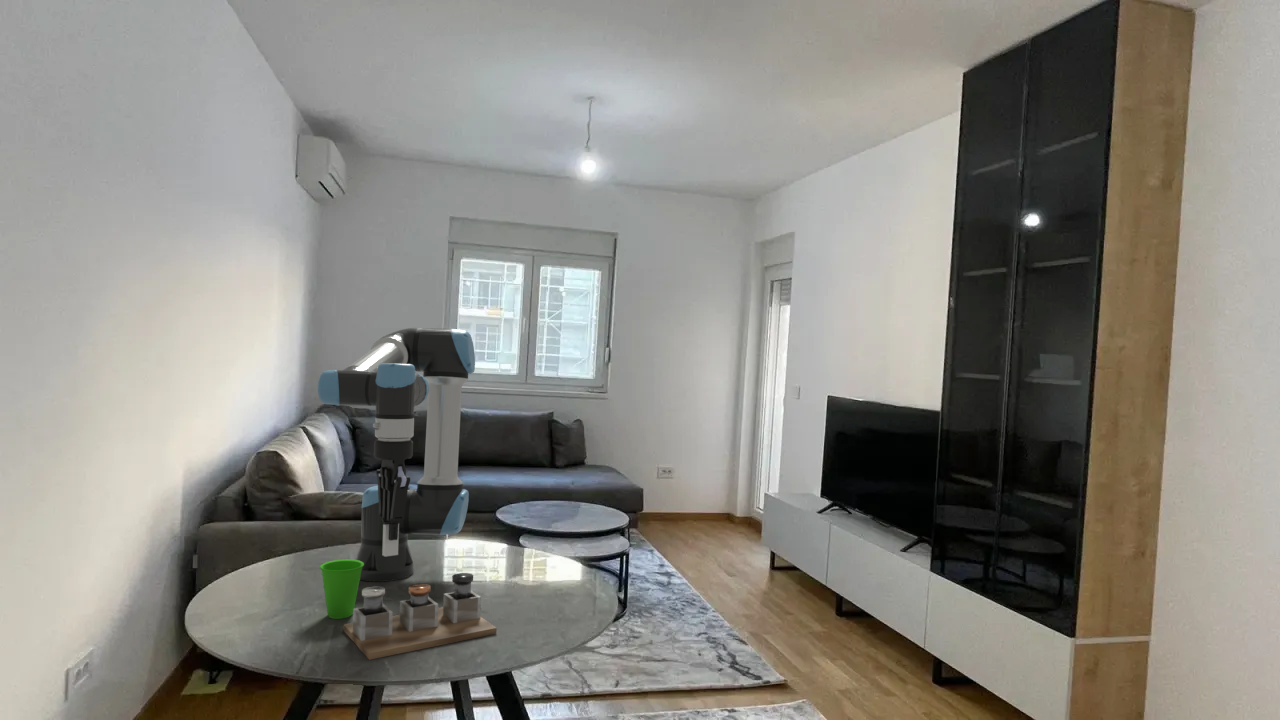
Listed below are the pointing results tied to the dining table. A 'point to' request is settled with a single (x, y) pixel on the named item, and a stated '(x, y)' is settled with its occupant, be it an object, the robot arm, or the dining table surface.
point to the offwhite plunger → (373, 600)
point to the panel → (418, 626)
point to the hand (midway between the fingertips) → (390, 554)
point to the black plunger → (462, 585)
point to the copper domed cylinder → (419, 594)
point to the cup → (341, 586)
